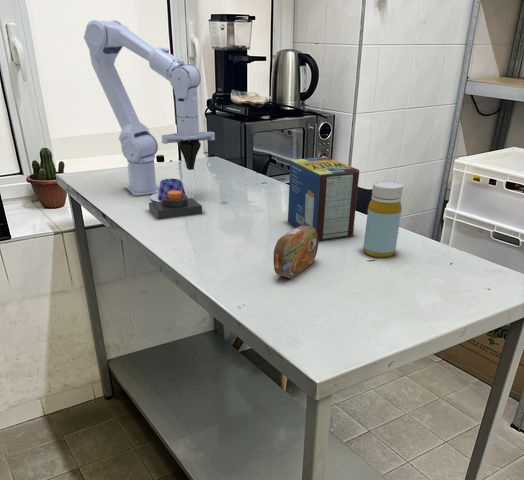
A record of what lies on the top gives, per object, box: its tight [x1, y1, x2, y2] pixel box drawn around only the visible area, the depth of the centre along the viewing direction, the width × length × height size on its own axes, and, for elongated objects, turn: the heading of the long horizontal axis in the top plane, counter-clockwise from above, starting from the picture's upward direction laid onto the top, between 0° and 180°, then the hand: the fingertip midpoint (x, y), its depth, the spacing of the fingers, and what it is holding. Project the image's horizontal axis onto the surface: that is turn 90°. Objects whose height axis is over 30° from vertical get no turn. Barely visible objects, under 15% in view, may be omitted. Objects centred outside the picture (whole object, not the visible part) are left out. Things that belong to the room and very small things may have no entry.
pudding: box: [150, 178, 194, 202], centre depth 152 cm, size 12×12×5 cm
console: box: [148, 194, 203, 220], centre depth 142 cm, size 12×8×4 cm, turn 116°
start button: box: [167, 190, 182, 200], centre depth 141 cm, size 4×4×2 cm
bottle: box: [363, 180, 404, 258], centre depth 117 cm, size 7×7×15 cm
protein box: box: [287, 156, 360, 242], centre depth 129 cm, size 10×15×16 cm
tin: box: [273, 226, 319, 279], centre depth 109 cm, size 15×3×8 cm, turn 148°
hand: (190, 169), depth 150 cm, fingers closed
